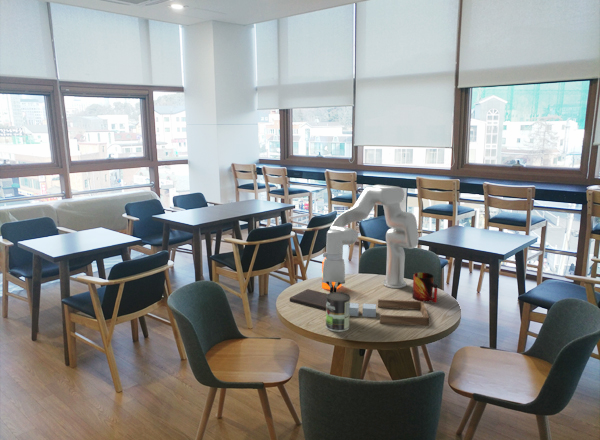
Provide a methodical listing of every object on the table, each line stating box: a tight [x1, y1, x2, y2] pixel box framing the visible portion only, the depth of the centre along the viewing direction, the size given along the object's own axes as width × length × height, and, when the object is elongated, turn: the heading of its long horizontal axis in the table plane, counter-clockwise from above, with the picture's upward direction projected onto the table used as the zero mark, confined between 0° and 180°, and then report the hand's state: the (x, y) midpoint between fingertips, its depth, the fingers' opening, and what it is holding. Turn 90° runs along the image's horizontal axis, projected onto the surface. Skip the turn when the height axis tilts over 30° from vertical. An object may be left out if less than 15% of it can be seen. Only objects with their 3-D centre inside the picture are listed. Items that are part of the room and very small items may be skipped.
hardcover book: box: [289, 288, 328, 312], centre depth 233 cm, size 16×23×2 cm
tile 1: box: [349, 302, 360, 317], centre depth 218 cm, size 6×6×4 cm
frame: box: [377, 299, 430, 327], centre depth 215 cm, size 20×21×4 cm
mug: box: [412, 272, 438, 304], centre depth 235 cm, size 10×14×12 cm
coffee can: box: [325, 291, 351, 333], centre depth 202 cm, size 10×10×14 cm
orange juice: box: [321, 257, 343, 291], centre depth 252 cm, size 8×9×20 cm
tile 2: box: [362, 303, 377, 318], centre depth 217 cm, size 6×6×4 cm
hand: (333, 295), depth 217 cm, fingers closed
